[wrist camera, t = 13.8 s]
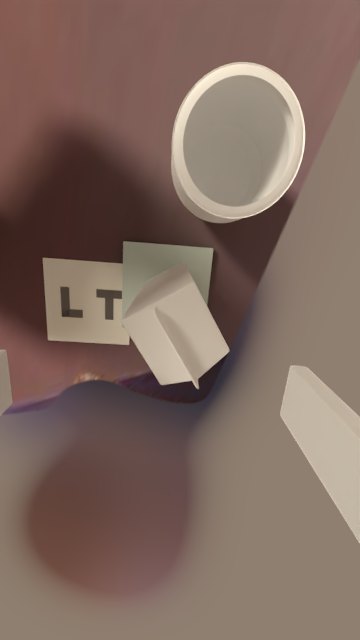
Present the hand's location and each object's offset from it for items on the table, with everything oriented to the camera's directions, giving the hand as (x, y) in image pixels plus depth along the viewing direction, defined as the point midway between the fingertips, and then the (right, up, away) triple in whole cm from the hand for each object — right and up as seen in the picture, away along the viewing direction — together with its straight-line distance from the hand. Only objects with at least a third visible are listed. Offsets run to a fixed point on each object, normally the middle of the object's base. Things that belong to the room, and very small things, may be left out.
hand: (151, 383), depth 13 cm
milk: (+1, +7, +25) cm, 26 cm away
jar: (+5, +21, +22) cm, 31 cm away
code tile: (-12, +5, +26) cm, 29 cm away
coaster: (-1, +8, +26) cm, 27 cm away
